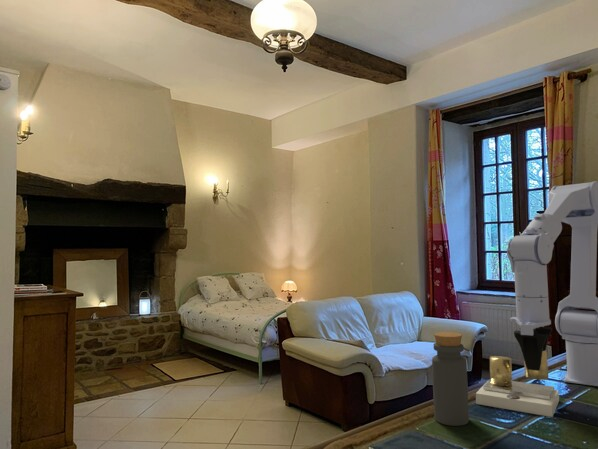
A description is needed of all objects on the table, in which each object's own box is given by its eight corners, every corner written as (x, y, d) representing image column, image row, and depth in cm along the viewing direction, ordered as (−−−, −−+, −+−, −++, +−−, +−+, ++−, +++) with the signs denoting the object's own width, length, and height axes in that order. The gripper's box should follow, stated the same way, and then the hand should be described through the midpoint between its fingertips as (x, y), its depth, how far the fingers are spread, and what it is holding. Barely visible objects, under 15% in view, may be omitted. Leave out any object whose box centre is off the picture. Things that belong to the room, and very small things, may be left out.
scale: (488, 389, 95) (488, 379, 95) (559, 400, 88) (558, 389, 88) (476, 403, 87) (475, 392, 87) (552, 417, 80) (551, 404, 80)
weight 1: (491, 379, 94) (491, 355, 94) (513, 382, 91) (512, 357, 92) (488, 384, 90) (488, 358, 91) (510, 387, 88) (510, 361, 88)
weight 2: (548, 374, 88) (547, 348, 88) (548, 380, 84) (546, 353, 84) (525, 372, 90) (524, 347, 90) (524, 378, 86) (522, 351, 86)
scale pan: (491, 380, 95) (491, 378, 95) (554, 389, 88) (554, 386, 88) (483, 389, 89) (483, 386, 89) (549, 399, 83) (549, 396, 83)
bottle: (468, 415, 81) (464, 331, 82) (469, 427, 76) (465, 337, 77) (434, 412, 83) (431, 330, 84) (433, 424, 78) (430, 336, 79)
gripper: (516, 292, 96) (519, 356, 95) (501, 299, 84) (504, 372, 84) (554, 293, 92) (557, 360, 91) (543, 301, 80) (547, 378, 79)
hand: (535, 366), depth 87 cm, fingers closed on weight 2, 4 cm apart
